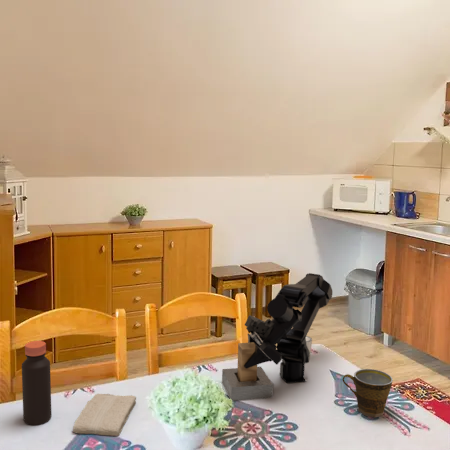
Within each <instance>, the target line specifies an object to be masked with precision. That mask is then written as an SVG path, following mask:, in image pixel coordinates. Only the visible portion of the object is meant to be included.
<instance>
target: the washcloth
mask: <svg viewBox="0 0 450 450" xmlns="http://www.w3.org/2000/svg"><path fill="white" fill-rule="evenodd" d="M136 404H137V396H135V395H132V394H131V395H119V394H118V395H116V394H110V393H96V394H95V395H93V397H92V398H91V399H90V400H88V401H87V402H86V404H85V406H84V407H83V409H82V410H81V411H80V414H79V415H78V417H77V418H76V420H75V422H74V423H73V426H72V432H73V433H76V434H82V435H88V434H90V435H99V436H113V437H114V436H120V434H121V432H122V431H123V429H124V426H125V424H126V422H127V421H128V419H129V416H130V414H131V412H132V411H133V410H134V407H135V406H136Z"/></svg>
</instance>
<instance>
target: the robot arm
mask: <svg viewBox="0 0 450 450" xmlns="http://www.w3.org/2000/svg"><path fill="white" fill-rule="evenodd" d="M332 297H333V288H332V285H331V284H330V283H329V282H328V281H326V280H325V279H324V277H323V275H321V274H318V273H317V274H316V273H310V272H309V273H307V274H305V276H304V277H303V278H301V279H300V280H299V281H297V282H296V283H289V284H288V283H287V284H284V285H283V286H282V288H280V290H279V291H278V293H277V294H276V295H275V297H274V298H273V299H271V300H270V301H269V303H268V304H267V307H266V311H267V312H268V315H269V316H270V317H271V318H272V319H270V318H268V319H266V321H265V320H262V319H261V318H258V317H256V316H253V315H251V314H250V315H248V317H247V319H246V321H245V323H244V326H245V328H246V329H245V330H247V331H248V333H247V339H248V340H247V343H250V342H254V344H255V352H254V353H253V354H252V356H251V357H250V358H249V359H248V361H247V362H246V363H245V365H244V367H245V368H249V367H252V366H255V365H257V366H258V365H261V364H263V363H268V362H273V363H274V364H275V365H279V366H280V367H279V376H280V377H281V378H282V379H283V381H284V383H286V384H290V383H301V382H303V383H304V382H306V381H307V379H306V377H305V364H308V363H309V362H310V358H309V357H310V356H311V351H310V352H309V350H308V348H307V345H306V336H308V333H309V331H310V329H311V326H312V325H313V323H314V320H315V318H316V317H317V314H318V313H319V310H320V309H322V308H324V307H326V306H327V305H328V303H329V302H330V300H332ZM295 308H297V309H295ZM298 308H299V309H298ZM301 308H302V309H301ZM300 309H301V310H300ZM279 363H280V364H279Z"/></svg>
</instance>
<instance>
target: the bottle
mask: <svg viewBox="0 0 450 450" xmlns="http://www.w3.org/2000/svg"><path fill="white" fill-rule="evenodd" d="M24 354H25V357H26V359H24V361H23V362H22V363H21V386H22V388H21V389H22V414H23V416H22V417H23V422H24V423H25V424H27V425H30V426H38V425H43V424H45V423H48V422H49V421H50V420H51V418H52V385H51V384H52V383H51V380H52V379H51V361H50V359H48V358H47V357H46V356H45V355H46V354H47V343H46V342H45V341H43V340H33V341H30V342H27V343H26V344H25V345H24Z"/></svg>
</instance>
